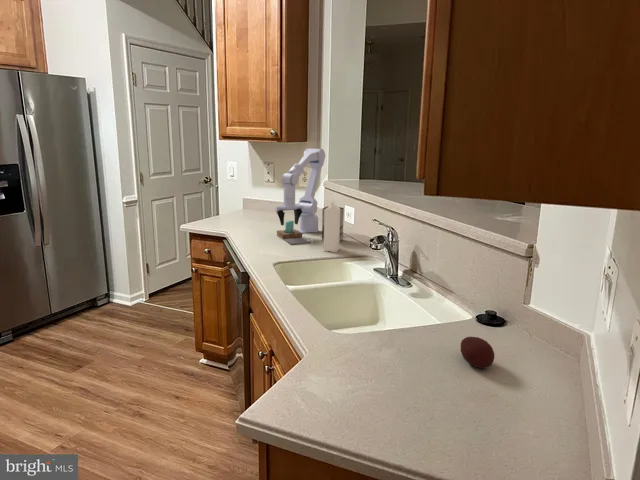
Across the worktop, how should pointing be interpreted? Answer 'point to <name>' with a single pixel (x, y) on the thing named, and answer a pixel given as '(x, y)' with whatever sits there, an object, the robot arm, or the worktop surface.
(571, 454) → the worktop surface
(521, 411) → the worktop surface
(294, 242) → the mat
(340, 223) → the coffee box
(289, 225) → the plug
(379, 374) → the worktop surface
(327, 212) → the milk
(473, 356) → the potato
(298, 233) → the socket block
